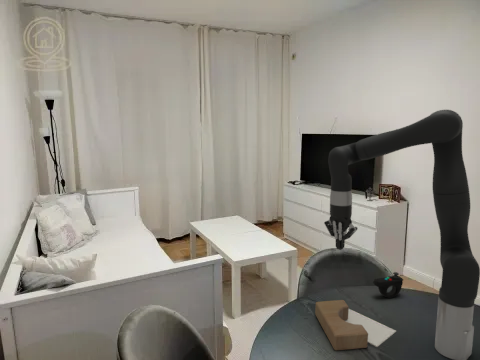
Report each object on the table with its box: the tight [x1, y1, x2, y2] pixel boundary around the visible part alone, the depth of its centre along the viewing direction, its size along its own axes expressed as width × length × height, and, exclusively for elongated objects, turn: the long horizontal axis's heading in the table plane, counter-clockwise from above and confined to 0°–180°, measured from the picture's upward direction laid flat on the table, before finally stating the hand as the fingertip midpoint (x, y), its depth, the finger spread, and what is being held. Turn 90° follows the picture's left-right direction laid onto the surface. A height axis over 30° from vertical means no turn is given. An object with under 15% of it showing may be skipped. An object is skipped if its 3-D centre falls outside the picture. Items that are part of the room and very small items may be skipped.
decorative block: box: [314, 299, 369, 351], centre depth 118 cm, size 11×6×20 cm
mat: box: [344, 308, 397, 348], centre depth 121 cm, size 20×12×1 cm, turn 39°
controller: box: [372, 271, 404, 299], centre depth 140 cm, size 4×12×10 cm, turn 102°
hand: (339, 248), depth 124 cm, fingers closed
